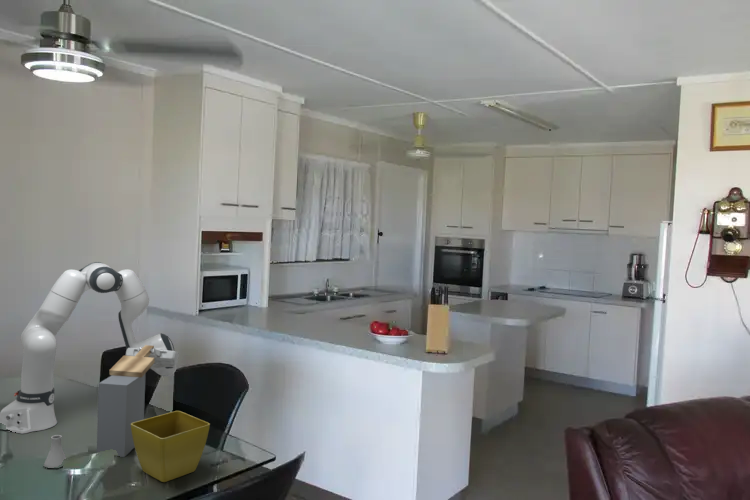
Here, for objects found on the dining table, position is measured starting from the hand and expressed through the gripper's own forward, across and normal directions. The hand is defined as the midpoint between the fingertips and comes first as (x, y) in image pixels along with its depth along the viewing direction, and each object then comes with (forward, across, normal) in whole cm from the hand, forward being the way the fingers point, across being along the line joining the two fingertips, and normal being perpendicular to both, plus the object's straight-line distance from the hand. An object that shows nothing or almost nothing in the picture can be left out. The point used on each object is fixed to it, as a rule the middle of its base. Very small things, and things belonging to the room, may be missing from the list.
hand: (145, 349), depth 238 cm
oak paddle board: (+4, 0, +6) cm, 8 cm away
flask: (+17, -14, +46) cm, 51 cm away
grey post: (+1, 0, +37) cm, 37 cm away
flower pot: (+15, +24, +45) cm, 53 cm away
